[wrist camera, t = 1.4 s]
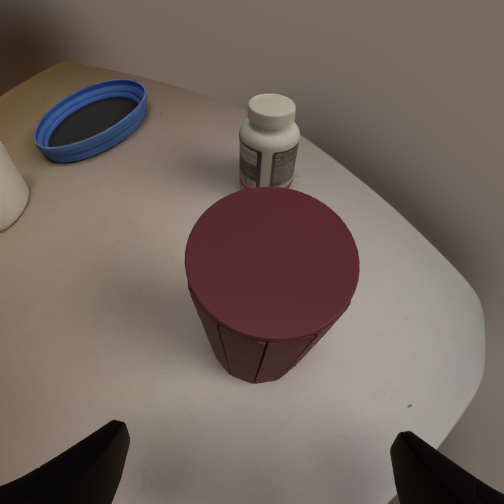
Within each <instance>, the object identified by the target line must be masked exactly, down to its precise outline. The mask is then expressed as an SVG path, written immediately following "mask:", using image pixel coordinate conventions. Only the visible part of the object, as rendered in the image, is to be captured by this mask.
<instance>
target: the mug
mask: <svg viewBox="0 0 504 504" xmlns="http://www.w3.org/2000/svg"><path fill="white" fill-rule="evenodd" d="M28 198H29V189H28V186H27V184H26V182H25V181H24V179H23V177H22V176H21V174H20V173H19V171H18V169H17V168H16V166H15V164H14V163H13V161H12V159H11V158H10V156H9V154H8V153H7V151H6V149H5V147H4V145H3V144H2V142H1V140H0V231H3V230H5V229H7V228H8V227H10V226H11V225H12V224H13V223H14V222H15V221H16V220H17V219H18V218H19V217H20V215H21V214H22V212H23V211H24V209H25V207H26V205H27V202H28Z"/></svg>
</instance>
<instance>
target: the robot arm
mask: <svg viewBox="0 0 504 504" xmlns="http://www.w3.org/2000/svg"><path fill="white" fill-rule="evenodd" d="M129 444H130V436H129V433H128V430H127V427H126V424H125V423H124V422H122V421H118V420H112V421H110V422H109V423H107V424H106V425H104V426H103V427H101V428H100V429H98V430H97V431H95V432H94V433H92V434H91V435H89V436H88V437H86V438H85V439H83V440H82V441H80V442H79V443H77V444H75V445H74V446H72V447H71V448H69V449H68V450H66V451H65V452H63V453H61V454H60V455H58V456H57V457H55V458H53V459H52V460H50V461H48V462H47V463H45V464H44V465H42V466H40V468H37V469H35V470H33V471H32V472H30V473H28V474H26V475H25V476H23V477H21V478H19V479H16V480H14V481H12V482H10V483H7V484H5V485H2V486H0V504H112V501H113V499H114V496H115V493H116V491H117V488H118V485H119V483H120V480H121V477H122V473H123V469H124V464H125V460H126V456H127V452H128V448H129ZM390 454H391V460H392V466H393V473H394V479H395V485H396V490H397V494H398V497H399V501H400V504H504V494H502V493H501V492H499V491H497V490H495V489H493V488H491V487H490V486H488V485H487V484H485V483H483V482H482V481H480V480H479V479H477V478H476V477H474V476H473V475H471V474H470V473H468V472H467V471H465V470H464V469H462V468H461V467H460V466H458V465H457V464H455V463H454V462H453V461H451V460H450V459H448V458H447V457H446V456H444V455H443V454H441V453H440V452H439V451H437V450H436V449H434V448H433V447H432V446H430V445H429V444H427V443H426V442H425V441H423V440H422V439H421V438H419V437H418V436H417V435H415V434H414V433H412V432H411V431H406V432H401V433H399V434H398V435H397V437H396V439H395V441H394V443H393V444H392V446H391V450H390Z"/></svg>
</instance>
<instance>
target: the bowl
mask: <svg viewBox="0 0 504 504" xmlns="http://www.w3.org/2000/svg"><path fill="white" fill-rule="evenodd" d="M146 102H147V93H146V90H145V87H144V86H143V85H142V84H141V83H139V82H137V81H134V80H129V79H115V80H108V81H104V82H100V83H96V84H93V85H90V86H88V87H85V88H83V89H80V90H78V91H76V92H74V93H72V94H71V95H69V96H67V97H65V98H64V99H62V100H61V101H60V102H58V103H57V104H56V105H54V106H53V107H52V108H51V109H50V110H49V111H48V112H47V113H46V114H45V115H44V116H43V117H42V119H41V120H40V121H39V123H38V125H37V127H36V129H35V132H34V141H35V143H36V146H37V147H38V149H40V150H41V151H42V152H43V153H45V154H46V156H47V157H48V158H49V159H51V160H53V161H56V162H74V161H79V160H83V159H86V158H89V157H92V156H94V155H97V154H99V153H101V152H103V151H106V150H107V149H109V148H111V147H113V146H115V145H116V144H118V143H119V142H121V141H122V140H124V139H125V138H126V137H127V136H129V135H130V134H131V133H132V132H133V131H134V130H135V129H136V128H137V127H138V126H139V124H140V123H141V121H142V120H143V118H144V115H145V111H146V108H145V106H146Z"/></svg>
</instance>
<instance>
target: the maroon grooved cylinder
mask: <svg viewBox="0 0 504 504" xmlns="http://www.w3.org/2000/svg"><path fill="white" fill-rule="evenodd" d="M185 268H186V275H187V279H188V289H189V292H190V294H191V297H192V300H193V302H194V305H195V307H196V310H197V312H198V315H199V317H200V320H201V322H202V325H203V327H204V330H205V332H206V334H207V337H208V339H209V342H210V344H211V346H212V349H213V351H214V353H215V356H216V358H217V359H218V361H219V362H220V363H221V364H222V365H223V367H224V368H225V369H226V370H227V372H228V373H229V374H231V375H232V376H233V377H236V378H239V379H241V380H244V381H247V382H250V383H253V382H254V383H255V384H257V383H263V382H269V381H275V380H277V379H280V378H281V377H282V376H283V375H285V374H286V373H287V372H288V371H289V370H291V369H292V368H293V367H294V366H295V365H296V364H297V363H298V362H299V361H300V360H301V359H302V358H303V357H304V356H305V355H306V354H307V353H308V352H309V351H310V350H311V349H312V347H313V346H314V345H315V344H316V343H317V342H318V341H319V340H320V339H321V338H322V337H323V336H324V335H325V333H326V332H327V331H328V330H329V329H330V328H331V327H332V326H333V325H334V323H335V322H336V321H337V320H338V319H339V318H340V317H341V315H342V314H343V313H344V312H345V311H346V310H347V309H348V306H349V305H350V302H351V299H352V297H353V295H354V292H355V290H356V287H357V283H358V279H359V271H360V270H359V256H358V250H357V247H356V244H355V241H354V239H353V237H352V234H351V232H350V231H349V229H348V228H347V226H346V224H345V223H344V222H343V221H342V220H341V218H340V217H339V216H338V215H337V214H336V213H335V212H334V211H333V210H332V209H330V208H329V207H328V206H326V205H325V204H324V203H322V202H320V201H319V200H317V199H315V198H313V197H311V196H309V195H307V194H304V193H302V192H299V191H295V190H291V189H287V188H281V187H256V188H249V189H245V190H241V191H238V192H235V193H233V194H230V195H228V196H226V197H224V198H222V199H220V200H219V201H217V202H216V203H214V204H213V205H212V206H211V207H210V208H208V209H207V210H206V211H205V212H204V213H203V214H202V216H201V217H200V218H199V219H198V221H197V222H196V224H195V225H194V227H193V229H192V231H191V233H190V235H189V238H188V241H187V245H186V251H185Z"/></svg>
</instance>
